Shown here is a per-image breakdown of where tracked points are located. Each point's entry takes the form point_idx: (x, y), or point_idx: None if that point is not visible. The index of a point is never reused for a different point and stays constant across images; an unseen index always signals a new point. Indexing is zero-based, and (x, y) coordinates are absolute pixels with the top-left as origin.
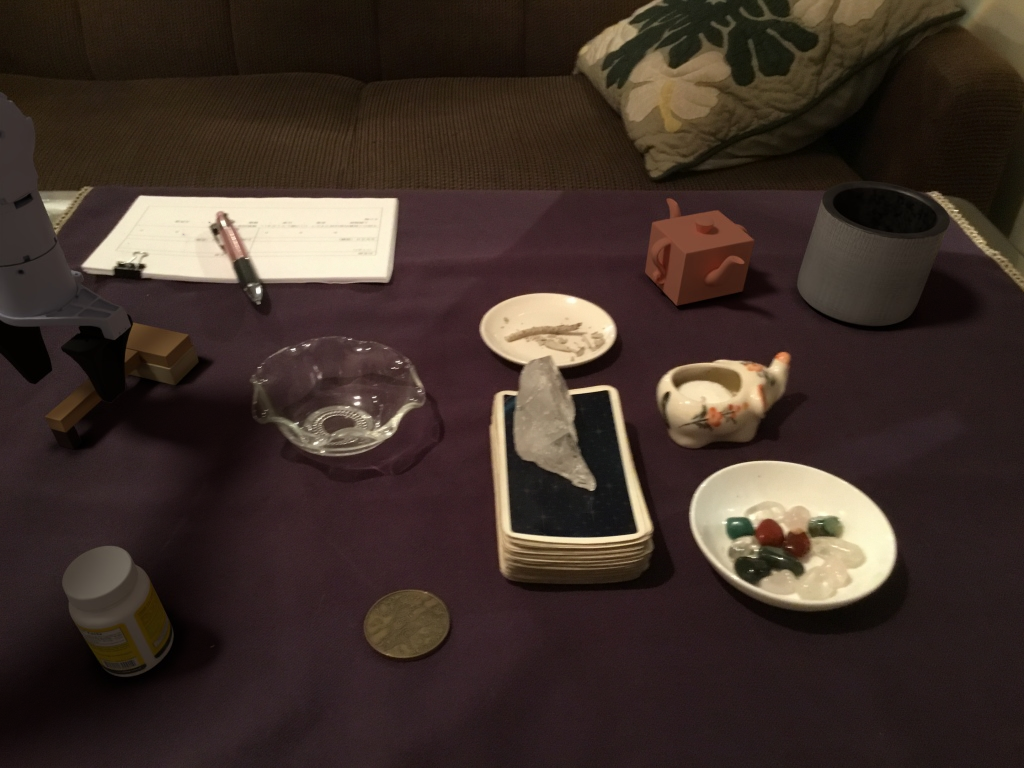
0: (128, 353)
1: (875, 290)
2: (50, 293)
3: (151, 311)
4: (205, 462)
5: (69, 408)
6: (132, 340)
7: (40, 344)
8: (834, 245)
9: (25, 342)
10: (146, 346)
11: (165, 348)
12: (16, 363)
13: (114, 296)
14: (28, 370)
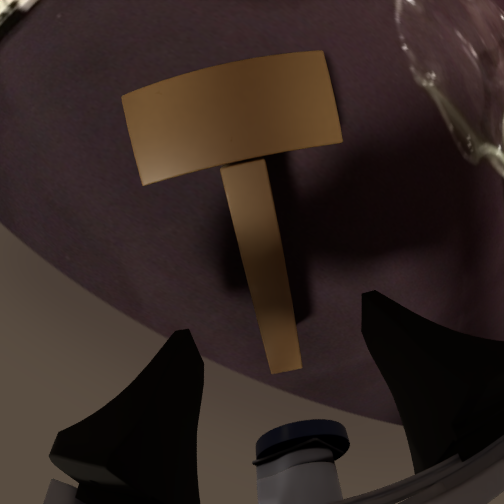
0: (252, 178)
1: None
2: None
3: (92, 27)
4: (454, 254)
5: (293, 349)
6: (214, 135)
7: (172, 376)
8: None
9: (179, 420)
10: (269, 134)
11: (318, 117)
12: (197, 418)
13: (20, 59)
14: (199, 388)
